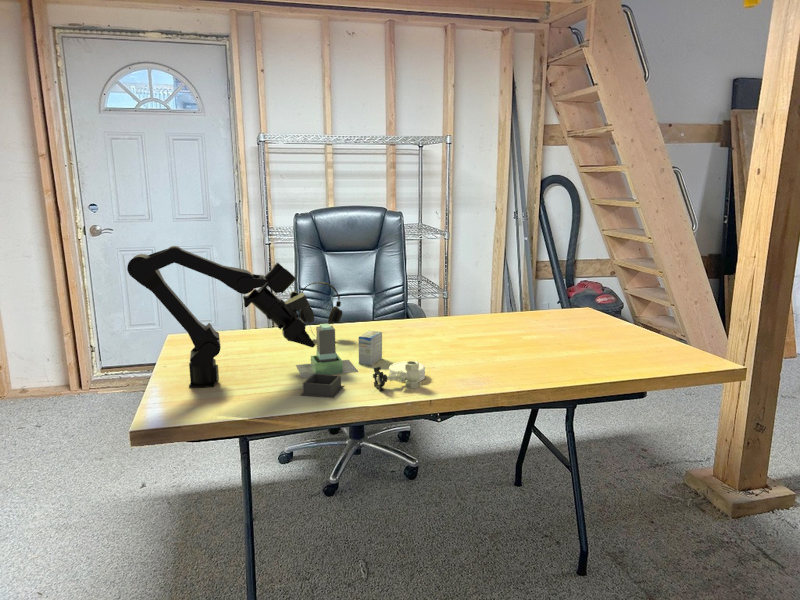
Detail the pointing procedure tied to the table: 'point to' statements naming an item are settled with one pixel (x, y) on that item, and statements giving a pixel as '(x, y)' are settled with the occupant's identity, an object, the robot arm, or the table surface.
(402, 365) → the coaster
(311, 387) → the box
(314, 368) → the port
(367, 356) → the medicine box
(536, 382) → the table surface
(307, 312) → the headphones
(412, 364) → the valve
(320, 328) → the plug
